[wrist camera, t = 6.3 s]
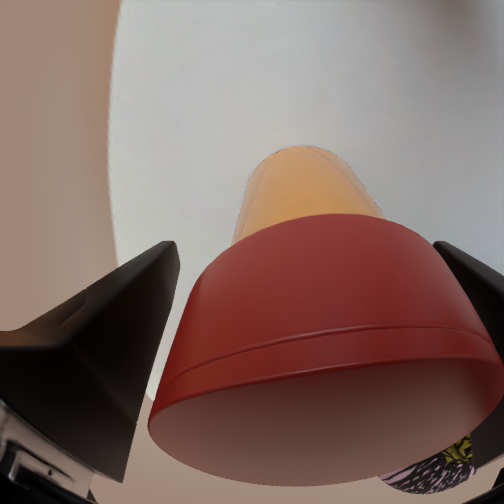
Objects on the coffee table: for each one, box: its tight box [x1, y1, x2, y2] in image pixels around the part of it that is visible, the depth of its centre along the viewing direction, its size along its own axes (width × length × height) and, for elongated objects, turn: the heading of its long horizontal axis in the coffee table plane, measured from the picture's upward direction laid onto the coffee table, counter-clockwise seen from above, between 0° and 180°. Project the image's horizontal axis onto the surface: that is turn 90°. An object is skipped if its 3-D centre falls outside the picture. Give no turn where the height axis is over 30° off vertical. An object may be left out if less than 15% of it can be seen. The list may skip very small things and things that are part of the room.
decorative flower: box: [378, 433, 482, 494], centre depth 13 cm, size 14×12×15 cm
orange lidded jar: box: [231, 146, 387, 246], centre depth 8 cm, size 5×5×10 cm
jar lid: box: [148, 213, 504, 486], centre depth 5 cm, size 6×6×3 cm
